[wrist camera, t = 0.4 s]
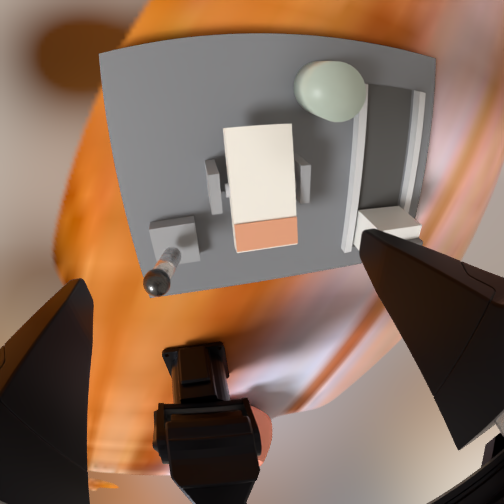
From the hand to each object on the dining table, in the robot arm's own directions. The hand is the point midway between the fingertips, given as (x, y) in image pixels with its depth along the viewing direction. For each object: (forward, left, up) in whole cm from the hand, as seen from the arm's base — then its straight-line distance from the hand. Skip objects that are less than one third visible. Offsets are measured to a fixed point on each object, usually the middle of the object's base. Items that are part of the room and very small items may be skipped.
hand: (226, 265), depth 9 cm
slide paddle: (-6, -13, -11) cm, 18 cm away
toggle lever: (-5, +2, -10) cm, 11 cm away
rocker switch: (-1, -3, -9) cm, 9 cm away
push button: (+4, -8, -11) cm, 14 cm away
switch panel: (-1, -6, -13) cm, 14 cm away
